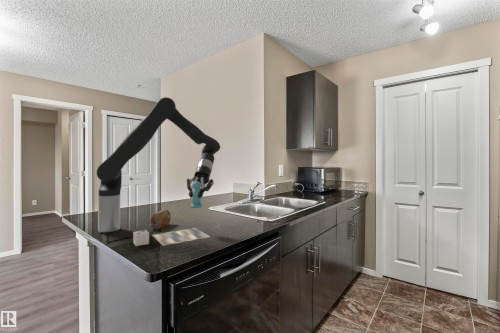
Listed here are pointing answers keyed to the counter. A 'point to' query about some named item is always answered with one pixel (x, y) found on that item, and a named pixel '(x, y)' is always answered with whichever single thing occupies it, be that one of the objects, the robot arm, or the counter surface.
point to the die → (141, 237)
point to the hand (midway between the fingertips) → (195, 196)
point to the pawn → (196, 195)
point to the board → (179, 236)
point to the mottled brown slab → (160, 219)
